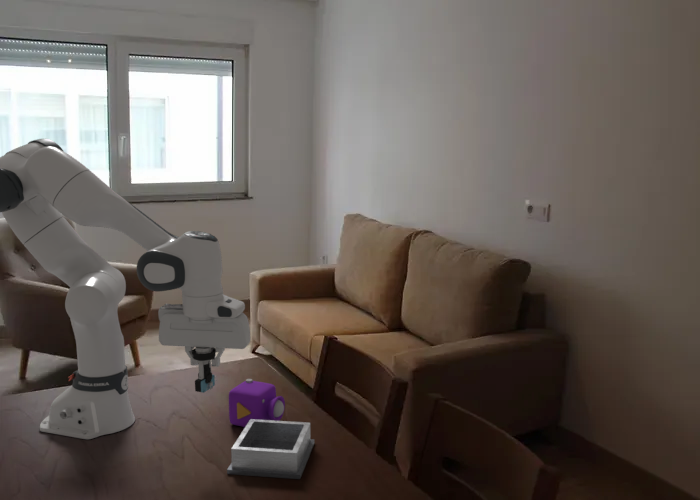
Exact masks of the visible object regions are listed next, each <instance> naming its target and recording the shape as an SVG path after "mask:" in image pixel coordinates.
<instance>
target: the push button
mask: <svg viewBox="0 0 700 500" xmlns="http://www.w3.org/2000/svg"><path fill="white" fill-rule="evenodd" d="M216 353H217V352H216V348H208V347H194V348H193V349H192V354H193V358H194V359H195V360H197V361H198V366H197V367H198V374H197V378H196V379H195V380H194V389H195V392H197V393H203V394H204V393H206V392H207V391H208V390H212V389H213V388H214V386H215V385H216V384H215V383H216V381H217V379H216V377H217V375H215V374H213V372H212V365H211V364H212V362H211V360H212V359H213V358H214V357H216V356H217V354H216Z"/></svg>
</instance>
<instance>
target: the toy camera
mask: <svg viewBox="0 0 700 500" xmlns="http://www.w3.org/2000/svg"><path fill="white" fill-rule="evenodd" d="M276 389H277V388H276V386H275V385H274V384H272V383H268V382H263V381H257V380H253V379H252V378H247V379H245V381H243V382H241V383H240V384H238V385H236V386H235V387H233V388H232V389H230V390H229V392H228V419H229V423H230V424H231V425H234V426H238V427H243V428H245V427H246V425H247V424H248V422H249V421H250V419H257V420H274V421H281V420H282V418H283V416H284V412H285V409H286V408H285V407H286V402H285V398H284V397H283V395H279V396H278V395H277V391H276Z"/></svg>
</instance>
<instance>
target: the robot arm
mask: <svg viewBox="0 0 700 500" xmlns="http://www.w3.org/2000/svg"><path fill="white" fill-rule="evenodd" d="M0 213H1V214H2V216H3V218H4V219H5V221H6V223H7V225H8V226H9V228H10V229H11V230H12V232H13V234H14V235H15V236H16V238H17V239H18V240H19V242H20V243H21V244H22V245H23V246H24V248H25V249H26V250H27V251H28V252H29V253H30V255H32V257H33V258H34V259H35V260H36V261H37V262H38V263H39V265H40V266H41V267H42V268H43V270H45V271H46V272H47V273H49V274H51V275H53V276H55V277H57V278H58V279H59V280H61V281H62V282H63V283H64V284H66V285H67V286H68V287H69V289H68V291H67V294H66V297H65V301H64V308H65V311H66V313H67V315H68V317H69V318H70V319H69V320H70V324H71V327H72V332H73V335H74V339H75V344H76V355H77V357H76V358H77V370H75V371H73V372H72V374H71V375H70V376H68V377H67V379H68V382H71V381H72V384H71V385H70V386H69V387H68V388H66V389H65V390H64V391H63V392H61V393H60V394H59V395H58V396H57V397H55V398H54V399H53V401H52V402H51V405H50V408H49V413H48V415H47V416H46V417H45V418H44V419H43V420H41V422H40V425H39V431H40V432H43V433H49V434H54V435H59V436H66V437H70V438H71V437H72V438H75V439H81V440H82V439H83V440H91V439H94V438H95V439H96V438H98V437H100V436H104V435H109V434H114V433H117V432H120V431H124V430H126V429H128V428H129V427H131V426H132V425H133V424H134V422H135V421H136V417H135V415H134V412H133V409H132V405H131V401H130V396H129V390H128V389H129V373H128V366H127V365H126V355H125V354H126V353H125V339H124V338H125V337H124V335H123V332H122V330H121V325H120V320H119V315H118V308H119V304H120V303H121V301H122V300H123V299H124V297H125V295H126V289H127V284H126V283H127V282H126V279H125V278H126V277H125V276H124V275H123V273H122V272H121V271H120V269H118V268H116V267H114V266H113V265H111V264H110V262H108V261H107V260H106V259H105V258H104V257H103V256H102V255H100V254H99V253H98V252H97V251H95V250H94V249H93V248H92V247H91V246H90V245H89V244H88V243H87V242H86V241H85V240H84V239H83V238H82V236H80V234H79V233H78V232H77V231H76V230H75V229H74V228H73V226H72V225H71V224H70V222H69V221H72V222H73V223H75V224H77V225H79V226H82V227H93V228H104V229H105V228H106V229H111V230H115V231H118V232H120V233H122V234H124V235H126V236H127V237H129V239H131V240H132V241H134V242H135V243H136V244H137V245H139V246H140V247H142V248H143V249H145V250H146V252H144V253H143V254H142V255H141V256H140V257H139V258H138V260H137V263H136V275H137V278H138V280H139V282H140V283H141V285H142V286H143V287H144V288H145V289H147V290H150V291H152V292H156V293H157V292H165V291H173V290H178V289H180V290H181V297H182V298H181V299H182V301H181V303H179V304H178V303H177V304H176V303H175V304H174V303H165V304H164V305H161V306H160V307H159V309H158V314H157V315H158V320H159V327H158V341H159V343H160V345H162V346H164V347H165V346H166V347H167V346H168V347H169V346H171V347H184V352H185V353H186V355H187V357H188V358H189V360H190V365H191V366H196V367H199V366H198V361H197V360H195V359H194V358H193V354H192V350H193V349H195V348H196V347H208V348H216V353H217V354H216V356H215V357H214V358H213V359H212V360H211V367H216V368H218V367H220V365H221V357H222V356H223V354H224V351H225V349H233V350H234V349H235V350H243V349H245V348H247V347H248V346H249V344H250V342H251V328H250V323H249V318H248V316H247V315H246V314H245V313H244V311H245V309H246V304H245V302H244V301H242V300H240V299H237V298H234V297H230V296H228V295H226V294H224V288H223V285H222V276H223V259H222V258H223V257H222V250H221V245H220V242H219V239H218V238H217V237H216V236H215V235H213V234H212V233H209V232H205V231H199V230H197V231H196V230H189V231H186V232H184V233H183V234H181V235H180V236H177V235H175V234H173V233H171V232H169V231H167V230H166V229H165V228H164V227H163V226H161V225H160V224H159V223H157V222H156V221H154V219H152V218H151V217H149V215H147V214H145V213H144V212H142V211H141V210H140V209H139V208H137V207H136V206H135V205H133V204H132V203H130V202H129V201H128V200H126V199H125V198H124V197H122V196H121V195H120V194H118V193H117V192H116V191H114V190H113V189H112V188H111V187H110V186H109V185H107V184H106V183H105V182H104V181H103V180H102V179H100V177H98V176H97V175H96V174H95V173H94V172H92V171H91V170H90V169H89V168H88V167H86V166H85V165H84V164H82V162H80V161H79V160H77V159H76V158H74V157H73V156H72V155H70V154H68V153H67V152H65V151H64V150H63V148H62V147H61V145H59V144H58V143H56V142H55V141H53V140H51V139H49V138H37V139H34V140H31V141H29V142H27V143H26V144H24V145H22V146H21V145H20V146H18V147H16V148H14V149H10V151H7V152H6V153H5V154H4V155H2V156H0ZM66 218H67V219H66ZM68 220H69V221H68Z"/></svg>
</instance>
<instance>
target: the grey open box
mask: <svg viewBox="0 0 700 500" xmlns="http://www.w3.org/2000/svg"><path fill="white" fill-rule="evenodd" d="M314 445H315V439H314V438H313V439H311V422H307V421H306V422H304V421H289V420H287V421H286V420H284V421H283V420H280V421H274V420H273V419H272V420H257V419H250V421H249V422H248V424H247V425H246V427H243V430H242V431H241V433H240V435H239V436H238V438H237V439H236V441H235V442H234V444H233V445H232V447H230V449H231V451H230V452H231V463H230V465H229V466H228V468H227V469H226V474H227V475H236V476H237V475H238V476H250V477H251V476H252V477H262V478H263V477H265V478H277V479H278V478H279V479H289V480H290V479H291V480H301V477H302V475H303V473H304V470H305V469H306V465H307V463H308V461H309V458H310V455H311V452H312V450H313V448H314Z"/></svg>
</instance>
